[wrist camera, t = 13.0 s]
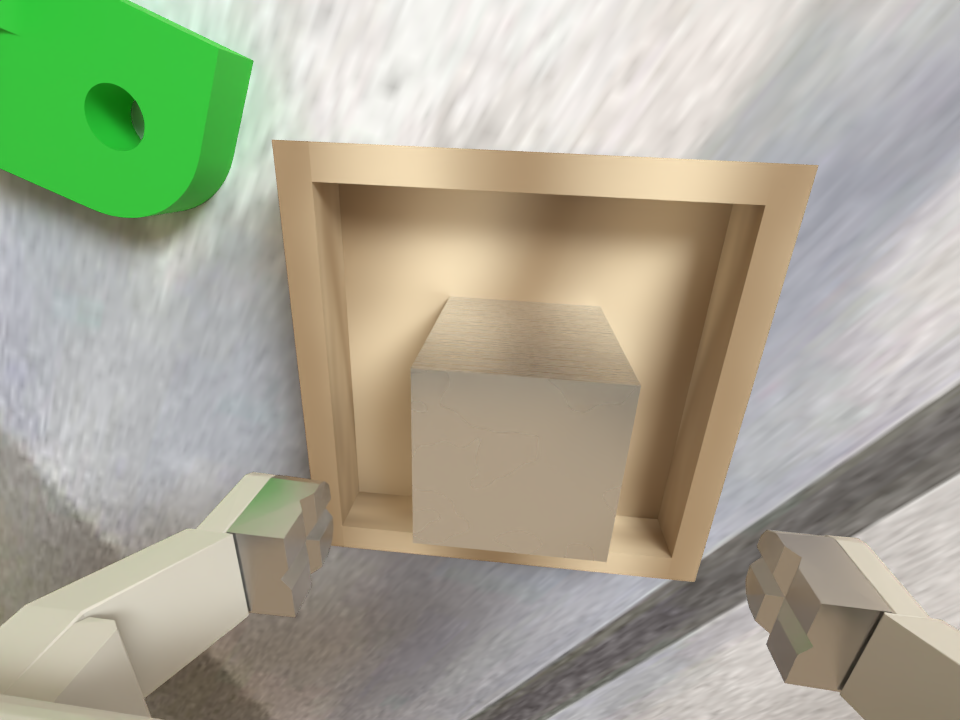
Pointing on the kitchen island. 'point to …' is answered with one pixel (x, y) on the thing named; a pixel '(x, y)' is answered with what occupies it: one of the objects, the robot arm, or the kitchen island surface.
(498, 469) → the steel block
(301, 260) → the tray
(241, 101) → the mechanical part
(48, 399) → the kitchen island surface
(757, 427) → the kitchen island surface
